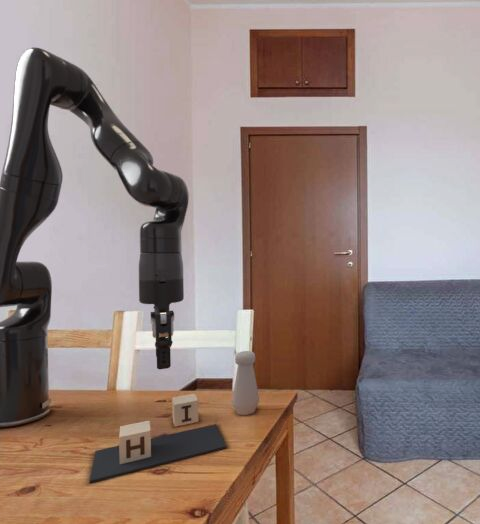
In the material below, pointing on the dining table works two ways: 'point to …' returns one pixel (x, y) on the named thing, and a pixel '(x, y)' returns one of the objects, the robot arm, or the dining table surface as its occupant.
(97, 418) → the dining table surface
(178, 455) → the word mat
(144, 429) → the beige rounded cube
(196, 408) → the beige cube block
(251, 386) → the salt shaker
